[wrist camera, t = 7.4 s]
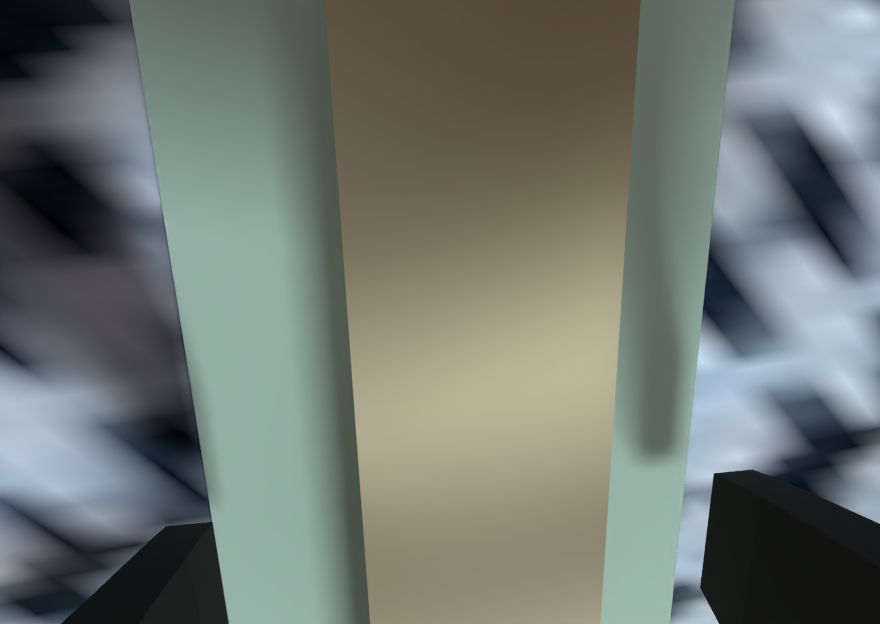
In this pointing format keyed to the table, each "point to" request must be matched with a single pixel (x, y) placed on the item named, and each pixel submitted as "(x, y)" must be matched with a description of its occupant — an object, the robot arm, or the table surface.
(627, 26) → the oak rail
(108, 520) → the table surface
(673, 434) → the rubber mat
